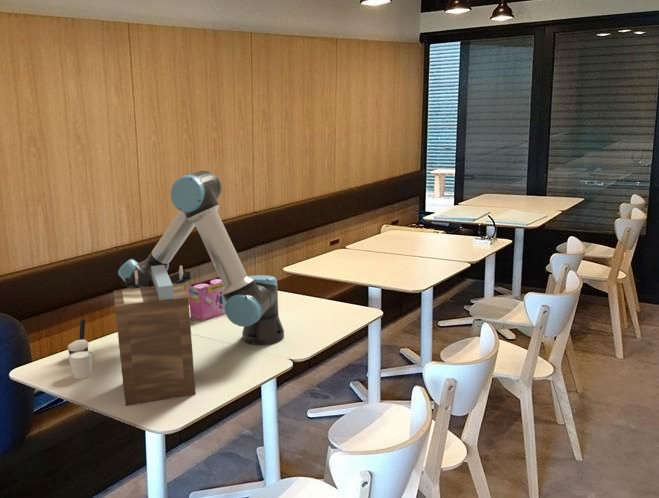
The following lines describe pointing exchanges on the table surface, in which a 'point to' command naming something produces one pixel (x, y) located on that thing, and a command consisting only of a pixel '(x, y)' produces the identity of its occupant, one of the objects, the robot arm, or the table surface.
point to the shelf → (154, 344)
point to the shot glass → (81, 364)
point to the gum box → (206, 299)
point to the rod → (162, 282)
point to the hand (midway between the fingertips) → (159, 272)
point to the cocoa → (79, 341)
